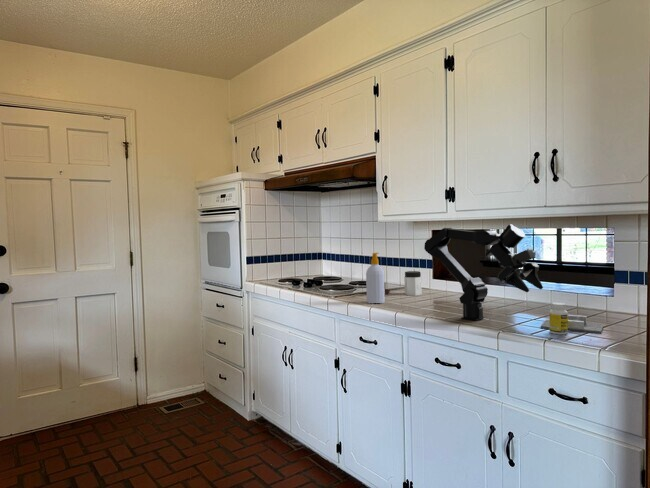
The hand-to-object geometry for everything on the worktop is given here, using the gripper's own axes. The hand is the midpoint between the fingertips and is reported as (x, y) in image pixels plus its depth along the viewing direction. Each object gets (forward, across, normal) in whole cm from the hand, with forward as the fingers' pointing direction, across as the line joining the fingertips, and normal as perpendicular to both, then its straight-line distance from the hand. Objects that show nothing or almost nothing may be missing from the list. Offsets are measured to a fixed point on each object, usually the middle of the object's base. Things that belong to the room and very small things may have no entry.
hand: (535, 290), depth 160 cm
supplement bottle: (+15, 0, +4) cm, 16 cm away
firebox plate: (+15, +11, +4) cm, 19 cm away
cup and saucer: (-60, +22, +79) cm, 102 cm away
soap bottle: (-47, +1, +66) cm, 81 cm away
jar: (-49, +32, +68) cm, 90 cm away
